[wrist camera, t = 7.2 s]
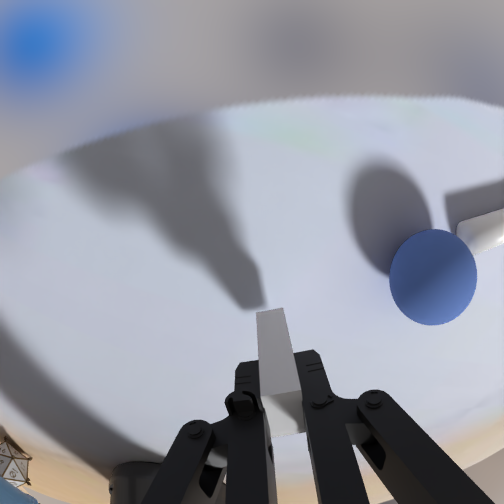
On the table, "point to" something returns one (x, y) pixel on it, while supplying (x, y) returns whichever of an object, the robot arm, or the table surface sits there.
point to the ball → (433, 277)
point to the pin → (482, 231)
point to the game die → (13, 465)
